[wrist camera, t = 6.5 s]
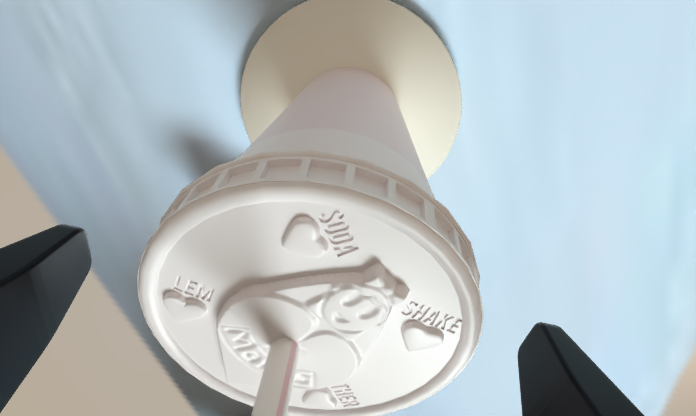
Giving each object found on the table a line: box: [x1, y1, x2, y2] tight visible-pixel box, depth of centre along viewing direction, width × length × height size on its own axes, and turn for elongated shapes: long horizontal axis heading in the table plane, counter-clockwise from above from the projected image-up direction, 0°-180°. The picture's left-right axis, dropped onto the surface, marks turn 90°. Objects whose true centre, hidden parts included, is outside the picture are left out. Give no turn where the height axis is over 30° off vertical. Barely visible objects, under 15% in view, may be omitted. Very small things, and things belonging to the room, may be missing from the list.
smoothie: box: [137, 67, 483, 416], centre depth 10 cm, size 6×6×14 cm
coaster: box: [241, 0, 462, 179], centre depth 16 cm, size 8×8×1 cm
